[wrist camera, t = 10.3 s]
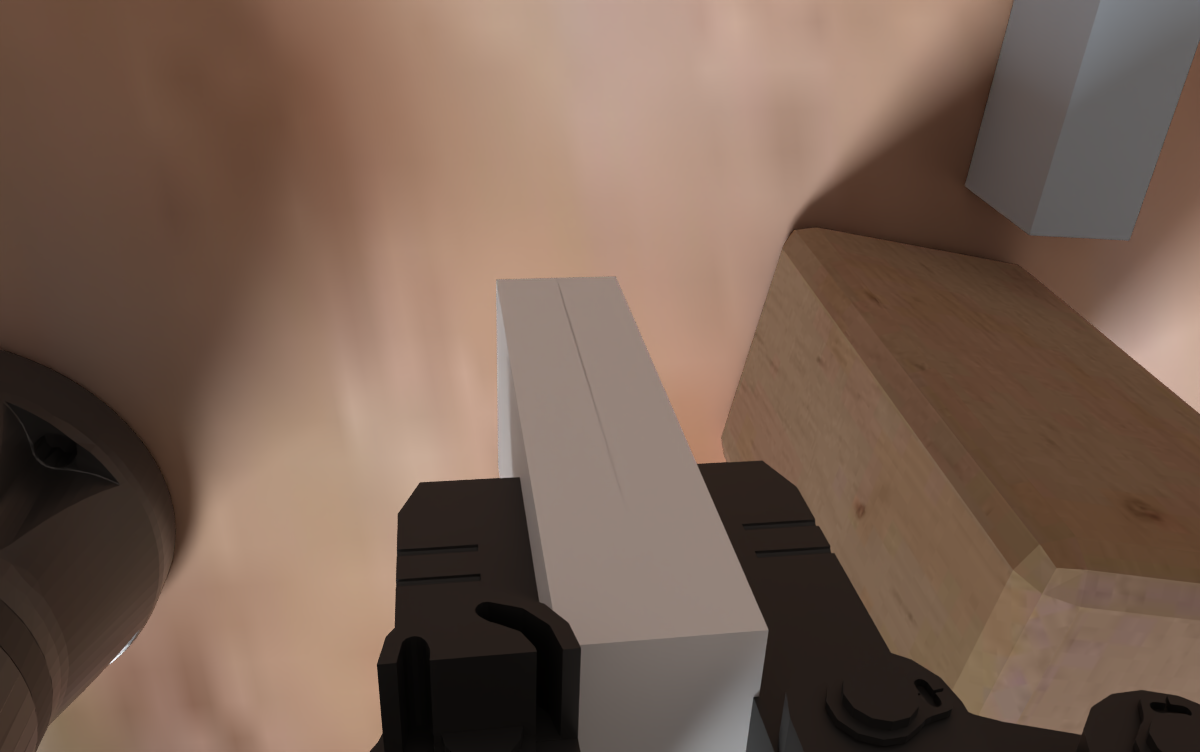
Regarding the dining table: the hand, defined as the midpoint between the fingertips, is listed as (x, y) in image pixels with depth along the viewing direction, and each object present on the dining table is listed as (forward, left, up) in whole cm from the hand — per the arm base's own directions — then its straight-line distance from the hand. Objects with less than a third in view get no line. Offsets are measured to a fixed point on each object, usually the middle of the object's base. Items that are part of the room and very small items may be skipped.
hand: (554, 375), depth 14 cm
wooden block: (+15, -11, -23) cm, 30 cm away
